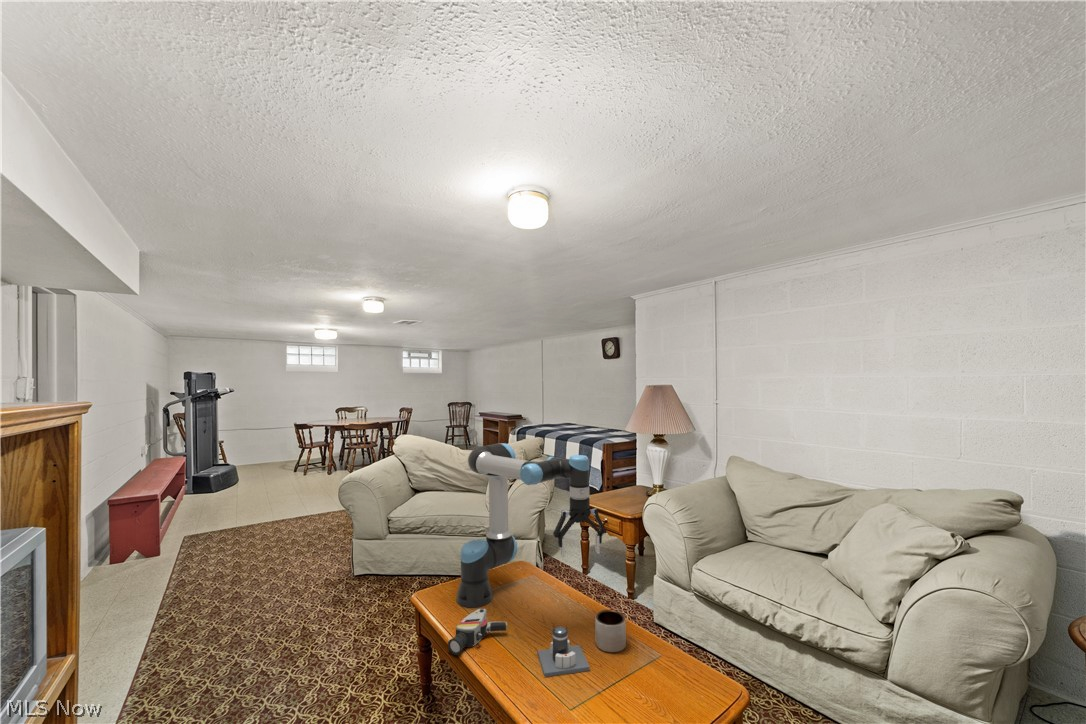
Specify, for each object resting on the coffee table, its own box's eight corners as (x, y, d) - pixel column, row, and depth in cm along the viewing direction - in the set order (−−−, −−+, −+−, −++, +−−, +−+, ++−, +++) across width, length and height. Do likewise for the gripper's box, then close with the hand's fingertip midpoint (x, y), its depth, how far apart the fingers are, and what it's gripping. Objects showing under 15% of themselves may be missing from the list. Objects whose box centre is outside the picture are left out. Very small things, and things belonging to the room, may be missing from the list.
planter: (629, 639, 162) (628, 613, 162) (621, 657, 152) (621, 628, 152) (600, 632, 166) (600, 606, 167) (591, 649, 156) (590, 621, 157)
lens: (550, 654, 151) (550, 627, 152) (565, 652, 153) (565, 625, 153) (554, 664, 146) (554, 635, 147) (569, 661, 148) (569, 633, 148)
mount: (537, 654, 154) (537, 639, 154) (579, 648, 157) (579, 634, 157) (544, 677, 142) (544, 661, 142) (589, 670, 145) (589, 655, 145)
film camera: (483, 666, 149) (446, 654, 155) (510, 632, 167) (476, 622, 173) (483, 645, 149) (446, 634, 155) (510, 613, 167) (475, 605, 173)
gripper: (549, 502, 162) (550, 560, 162) (614, 497, 167) (615, 554, 167) (545, 496, 170) (545, 552, 169) (607, 492, 175) (608, 547, 174)
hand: (580, 553), depth 168 cm, fingers open, 13 cm apart
